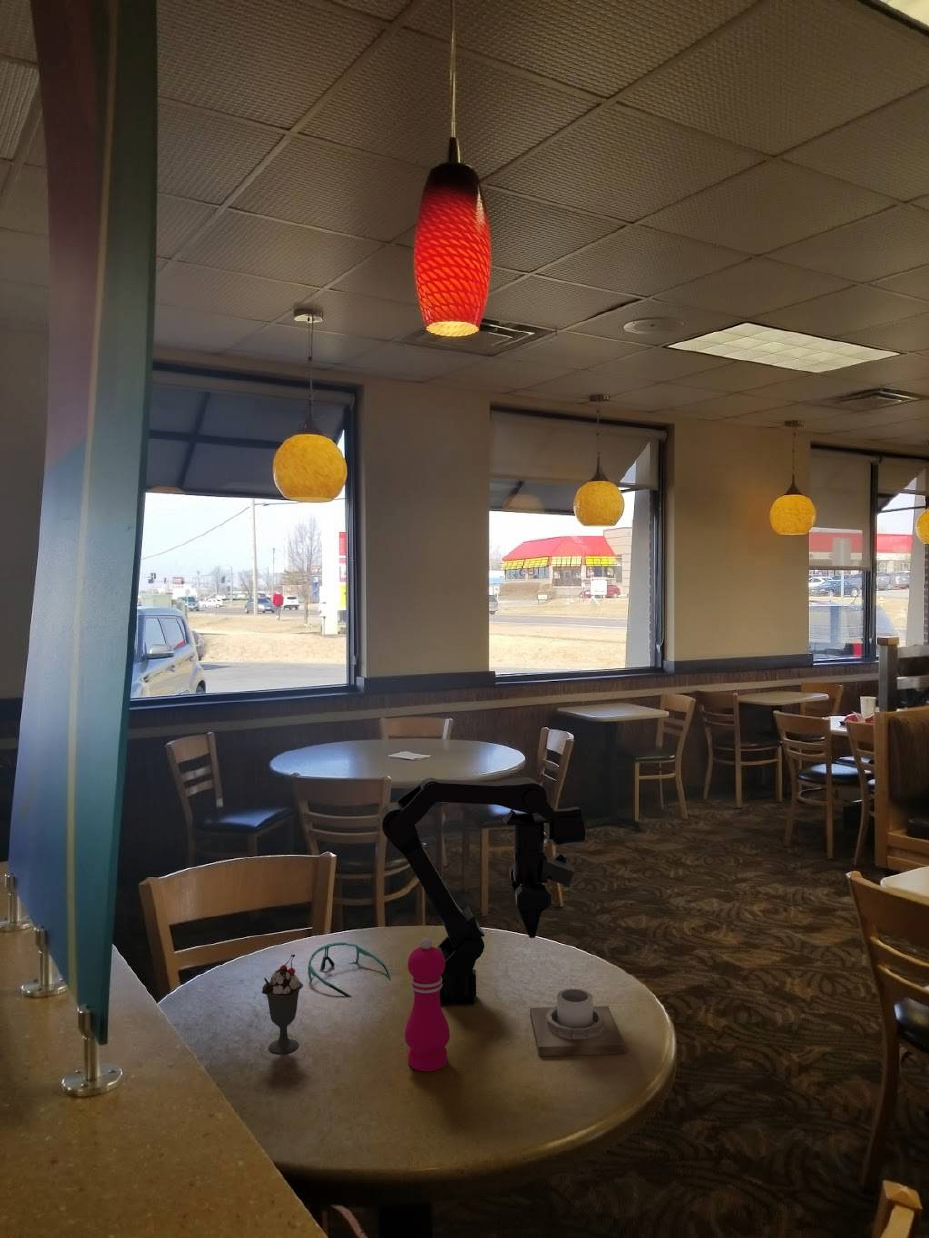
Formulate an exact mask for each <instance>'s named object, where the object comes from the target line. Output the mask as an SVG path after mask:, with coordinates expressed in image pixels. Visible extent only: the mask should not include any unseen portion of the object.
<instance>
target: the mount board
mask: <svg viewBox="0 0 929 1238" xmlns="http://www.w3.org/2000/svg"><path fill="white" fill-rule="evenodd" d="M529 1017H530V1022H531V1026H532V1031H533V1037H534V1039H535V1045H536V1050H537V1054H538V1057H549V1056H550V1057H551V1056H554V1057H556V1056H592V1055H593V1056H597V1055H600V1056H601V1055H625V1054H626V1053H625V1043H624V1040H623V1039H622V1036H621V1033H620V1030H619V1029H618V1026H617V1024H616V1021H615V1019H614V1016H613V1014H612V1012H611V1010H610V1007H609V1005H606V1006H605V1005H604V1006H603V1005H602V1006H601V1005H600V1006H597V1005H596V1006H595V1005H594V1006H593V1025H592V1026H589V1027H586V1028H570V1027H565V1026H561V1025H559V1024H557V1005H556V1006H554V1007H550V1006H549V1007H545V1006H544V1007H529Z"/></svg>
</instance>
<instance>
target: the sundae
mask: <svg viewBox="0 0 929 1238" xmlns="http://www.w3.org/2000/svg"><path fill="white" fill-rule="evenodd" d="M295 957H296V954H291V955H290V958H289V960H288V961H287V962H286V963H285V964H282V965H281V966H280V968H278V969H277V970H275V971H274V972H273V973H272V974H271V975H270V976H271V977H270V981H268V979H267V978H266V977H264V978H263V980H264V981H265V983H264V985H263V986H262V990H261V993H262V994H263V995H266V998H267V1002H268V1009H269V1015H270V1020H271V1022H272V1023H273V1024H274V1025H275V1026H277V1027H278V1028H279V1036H278V1037H279V1038H278V1039H276V1040H274V1041H272V1042H271V1043H270V1044H269V1045H268V1050H269V1052H271V1053H273V1054H277V1055H285V1054H290V1053H293V1052H294V1051H295V1050H297V1049H298V1048H299V1046H300V1045H299V1044H300V1043H299V1042H298V1041H297V1040H296V1039H292V1038H289V1035H288V1026H289V1025H291V1023H293V1021H294V1020H295V1019H296V1015H297V1011H298V1003H299V1002H298V1001H299V993H300V990H301V989H303V987H304V984H303V983H302V982H301V980H300V978H299V977H298V976H297V975H296V974H295V973H296V969H295V968H293V964H292V963H293V959H294V958H295ZM289 962H290V967H289V968H288V967H287V965H288V964H289Z"/></svg>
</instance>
